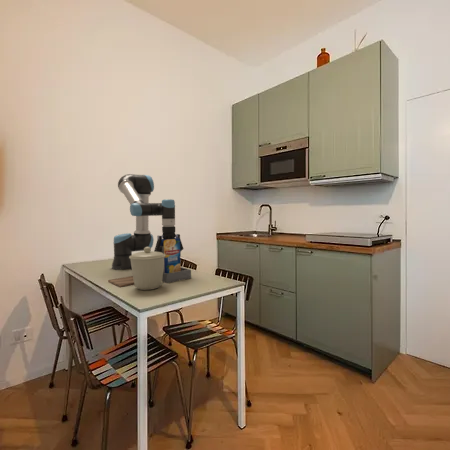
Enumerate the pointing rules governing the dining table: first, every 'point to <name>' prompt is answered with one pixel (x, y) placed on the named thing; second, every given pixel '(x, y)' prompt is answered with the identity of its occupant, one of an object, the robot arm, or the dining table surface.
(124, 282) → the walnut board
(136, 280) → the canister
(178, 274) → the grey bin
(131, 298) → the dining table surface
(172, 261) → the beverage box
